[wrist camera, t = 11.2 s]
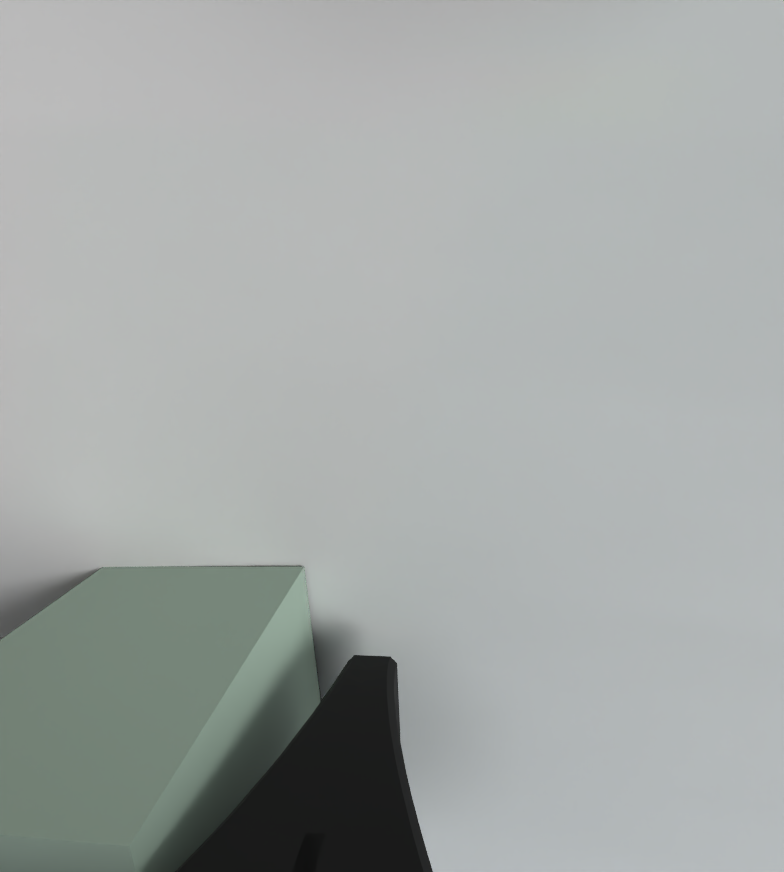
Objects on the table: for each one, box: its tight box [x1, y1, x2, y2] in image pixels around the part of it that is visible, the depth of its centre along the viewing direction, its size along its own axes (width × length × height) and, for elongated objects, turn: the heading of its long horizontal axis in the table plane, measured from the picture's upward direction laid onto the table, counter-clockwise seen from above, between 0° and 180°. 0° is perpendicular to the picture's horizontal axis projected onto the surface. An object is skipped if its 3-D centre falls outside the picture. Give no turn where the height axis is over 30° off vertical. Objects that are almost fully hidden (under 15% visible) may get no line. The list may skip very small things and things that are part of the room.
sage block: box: [0, 567, 321, 872], centre depth 8 cm, size 4×4×5 cm
